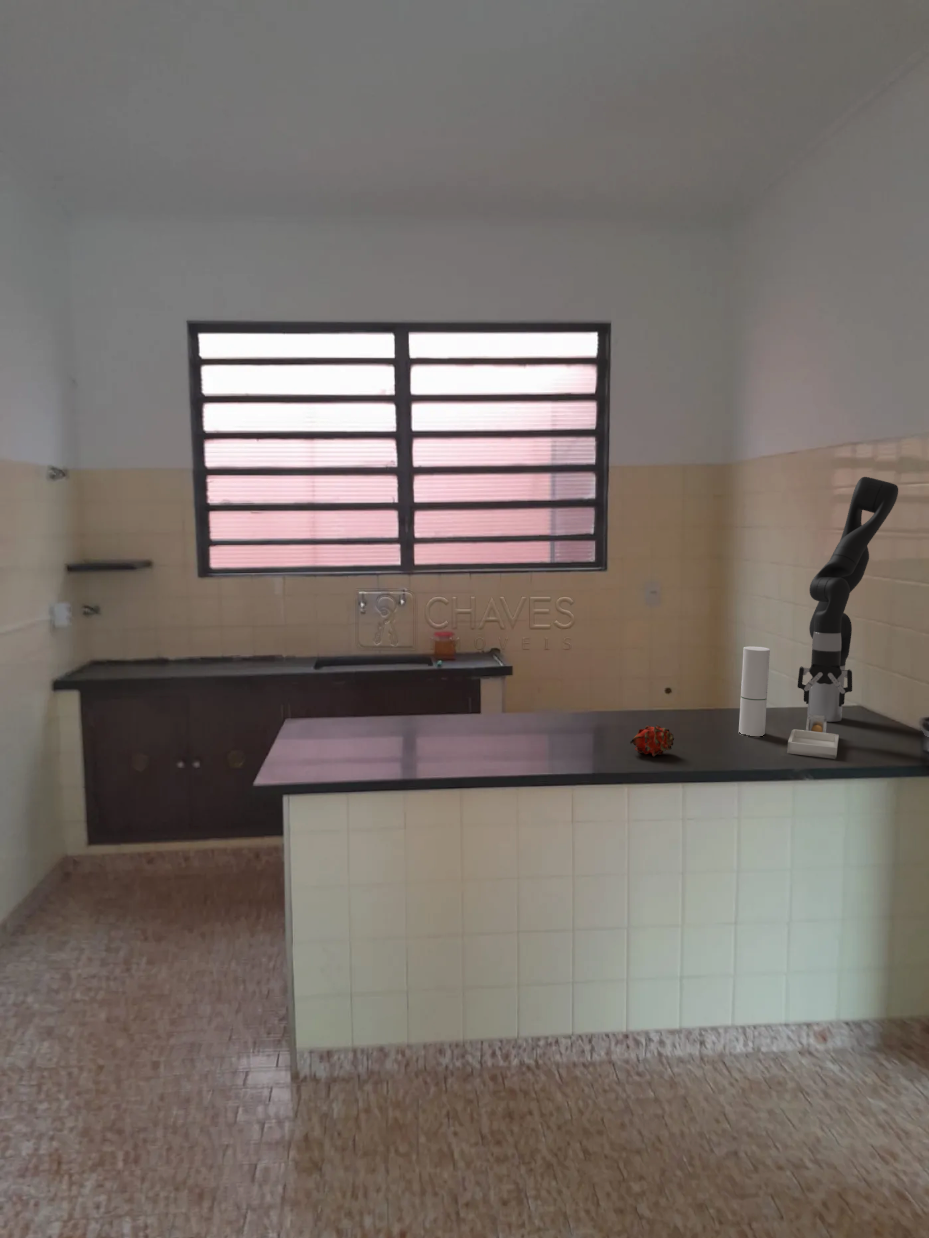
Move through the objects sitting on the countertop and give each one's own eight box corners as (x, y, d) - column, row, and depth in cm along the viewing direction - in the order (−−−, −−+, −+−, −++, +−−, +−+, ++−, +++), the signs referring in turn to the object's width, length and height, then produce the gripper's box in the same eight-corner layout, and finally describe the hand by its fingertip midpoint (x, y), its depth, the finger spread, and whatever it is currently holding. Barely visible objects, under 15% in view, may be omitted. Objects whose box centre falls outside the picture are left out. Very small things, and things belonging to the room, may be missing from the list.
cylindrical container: (765, 732, 251) (771, 647, 248) (763, 738, 245) (768, 651, 241) (740, 729, 254) (745, 645, 251) (737, 735, 248) (741, 649, 244)
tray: (791, 739, 244) (792, 729, 243) (837, 744, 239) (838, 734, 238) (787, 753, 230) (787, 742, 230) (836, 759, 225) (836, 748, 225)
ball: (808, 732, 248) (809, 725, 247) (816, 728, 249) (818, 721, 247) (815, 739, 246) (817, 731, 244) (824, 735, 247) (825, 728, 245)
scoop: (807, 733, 251) (808, 713, 250) (825, 735, 249) (827, 715, 248) (805, 740, 244) (806, 719, 243) (824, 742, 242) (825, 721, 241)
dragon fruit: (677, 760, 228) (633, 767, 227) (667, 735, 234) (624, 742, 233) (681, 740, 222) (635, 748, 221) (670, 715, 228) (626, 722, 227)
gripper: (799, 648, 241) (796, 705, 243) (854, 651, 236) (851, 709, 238) (799, 644, 248) (797, 700, 250) (853, 647, 243) (850, 704, 245)
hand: (823, 704), depth 244 cm, fingers open, 8 cm apart
